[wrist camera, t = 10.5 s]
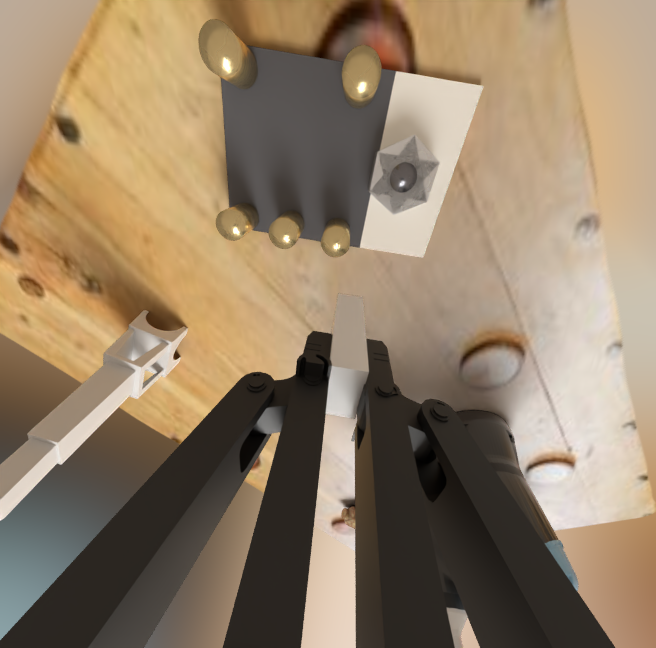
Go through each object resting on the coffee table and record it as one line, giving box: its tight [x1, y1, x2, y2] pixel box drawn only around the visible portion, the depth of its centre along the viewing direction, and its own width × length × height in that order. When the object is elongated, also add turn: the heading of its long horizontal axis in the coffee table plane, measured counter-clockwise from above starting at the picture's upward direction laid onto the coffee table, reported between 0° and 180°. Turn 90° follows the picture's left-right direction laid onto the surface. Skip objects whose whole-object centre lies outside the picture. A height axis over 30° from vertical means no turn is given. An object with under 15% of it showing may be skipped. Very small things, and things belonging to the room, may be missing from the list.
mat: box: [221, 45, 483, 258], centre depth 28 cm, size 24×16×1 cm, turn 82°
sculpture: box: [0, 310, 188, 521], centre depth 30 cm, size 7×8×30 cm
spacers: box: [199, 19, 381, 257], centre depth 25 cm, size 14×16×5 cm
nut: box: [368, 135, 440, 215], centre depth 26 cm, size 7×6×3 cm
